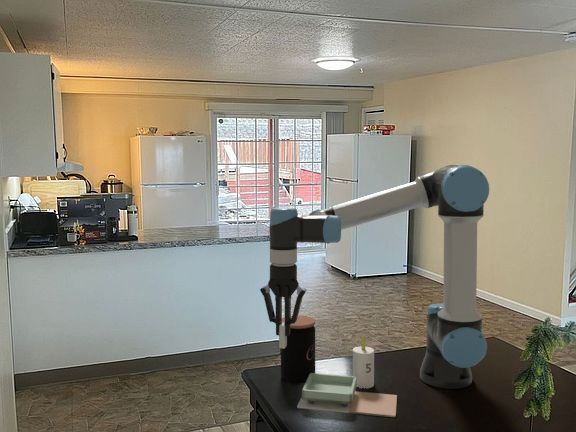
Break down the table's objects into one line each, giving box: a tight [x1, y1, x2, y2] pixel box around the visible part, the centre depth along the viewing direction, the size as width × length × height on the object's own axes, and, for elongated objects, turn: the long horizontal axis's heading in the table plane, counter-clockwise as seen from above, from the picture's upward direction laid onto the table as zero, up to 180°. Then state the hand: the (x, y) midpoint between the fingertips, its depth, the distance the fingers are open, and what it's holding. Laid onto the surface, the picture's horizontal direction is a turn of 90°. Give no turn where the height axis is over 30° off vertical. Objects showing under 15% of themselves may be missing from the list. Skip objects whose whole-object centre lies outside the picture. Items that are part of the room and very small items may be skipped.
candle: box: [352, 334, 375, 390], centre depth 161 cm, size 6×6×15 cm
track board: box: [297, 390, 398, 418], centre depth 149 cm, size 26×13×1 cm, turn 77°
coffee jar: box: [280, 315, 316, 384], centre depth 166 cm, size 11×11×18 cm
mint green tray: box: [301, 372, 357, 407], centre depth 150 cm, size 13×12×4 cm
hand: (283, 346), depth 152 cm, fingers closed
